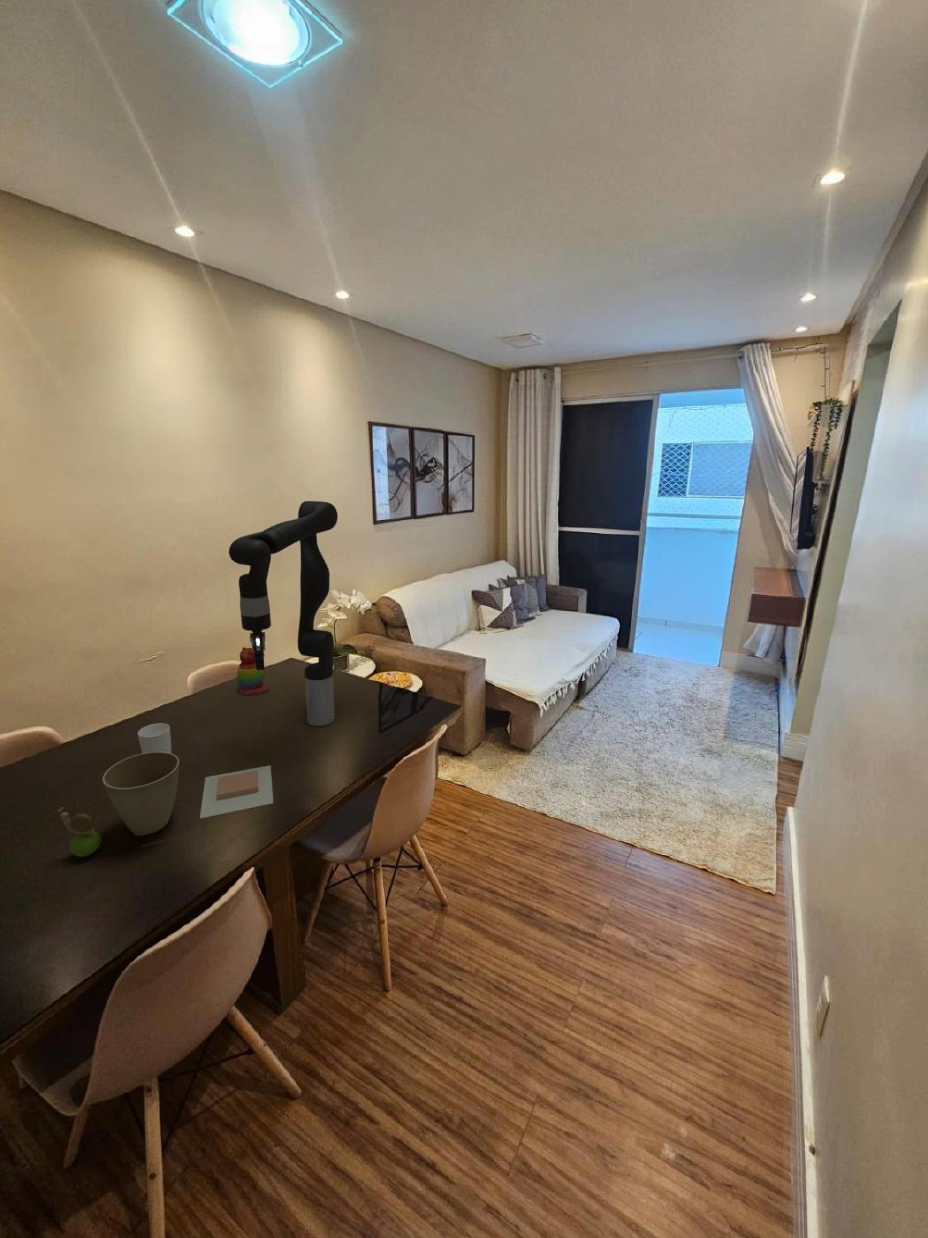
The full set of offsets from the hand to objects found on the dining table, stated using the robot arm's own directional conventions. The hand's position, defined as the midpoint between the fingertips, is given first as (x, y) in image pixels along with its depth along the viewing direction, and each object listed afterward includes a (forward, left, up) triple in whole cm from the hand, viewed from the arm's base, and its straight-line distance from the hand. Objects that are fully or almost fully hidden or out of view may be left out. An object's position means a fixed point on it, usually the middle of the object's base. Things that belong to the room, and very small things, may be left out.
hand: (260, 669), depth 138 cm
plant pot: (+22, -27, -29) cm, 45 cm away
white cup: (-9, -30, -29) cm, 43 cm away
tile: (+10, -8, -27) cm, 30 cm away
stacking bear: (-51, -4, -29) cm, 59 cm away
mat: (+15, -8, -29) cm, 34 cm away
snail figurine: (+27, -39, -29) cm, 56 cm away
